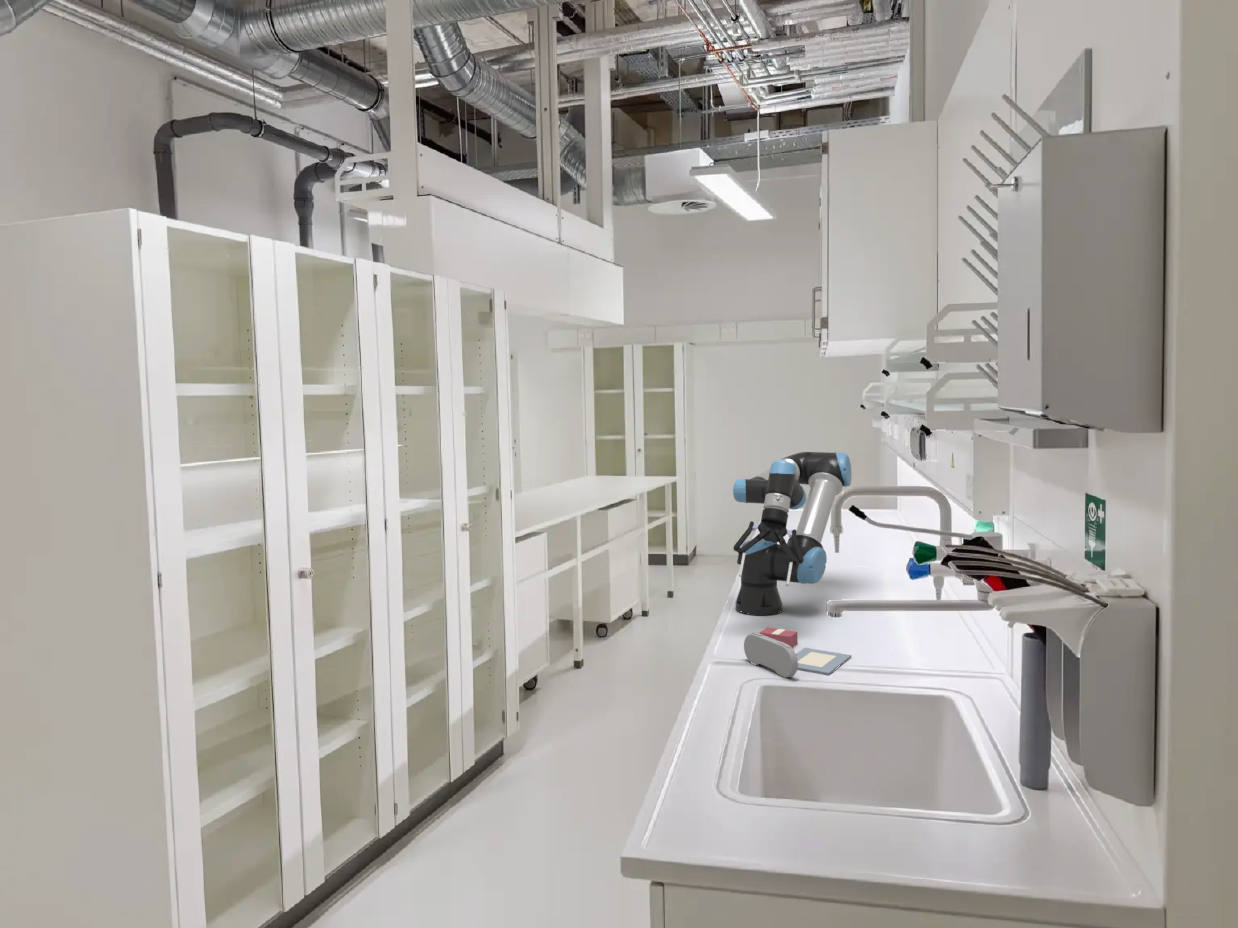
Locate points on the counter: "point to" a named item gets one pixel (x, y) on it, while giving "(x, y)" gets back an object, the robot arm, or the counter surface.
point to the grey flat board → (820, 660)
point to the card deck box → (781, 635)
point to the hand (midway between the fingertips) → (763, 580)
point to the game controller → (771, 654)
